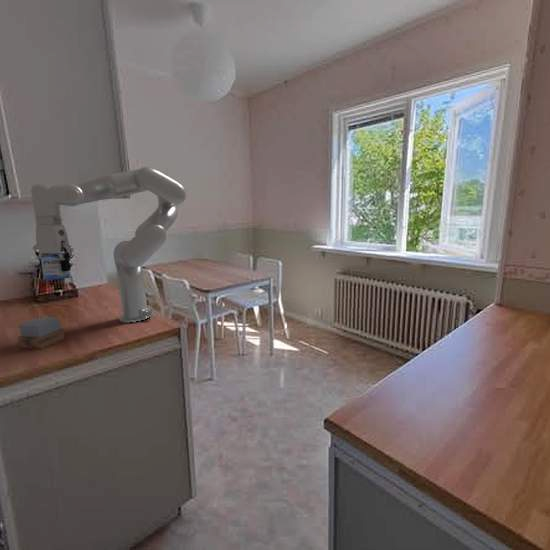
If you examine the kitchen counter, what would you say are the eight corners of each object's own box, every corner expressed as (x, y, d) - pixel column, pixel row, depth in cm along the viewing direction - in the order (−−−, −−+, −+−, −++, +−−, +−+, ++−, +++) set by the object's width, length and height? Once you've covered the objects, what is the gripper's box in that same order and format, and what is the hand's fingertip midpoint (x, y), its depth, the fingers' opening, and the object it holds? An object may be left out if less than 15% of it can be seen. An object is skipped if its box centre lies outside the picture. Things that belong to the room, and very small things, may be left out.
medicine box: (43, 280, 119) (39, 255, 117) (45, 278, 123) (41, 254, 121) (70, 278, 122) (66, 254, 121) (70, 276, 126) (67, 252, 124)
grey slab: (60, 328, 120) (59, 318, 119) (40, 337, 113) (38, 326, 112) (42, 327, 122) (40, 316, 121) (21, 336, 115) (19, 324, 114)
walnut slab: (64, 339, 121) (62, 328, 120) (41, 350, 112) (39, 338, 112) (44, 337, 123) (42, 327, 122) (20, 348, 115) (18, 336, 114)
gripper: (77, 220, 119) (84, 269, 123) (39, 221, 124) (46, 268, 128) (58, 221, 112) (66, 273, 116) (19, 222, 117) (27, 271, 121)
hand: (55, 270), depth 122 cm, fingers closed on medicine box, 8 cm apart
